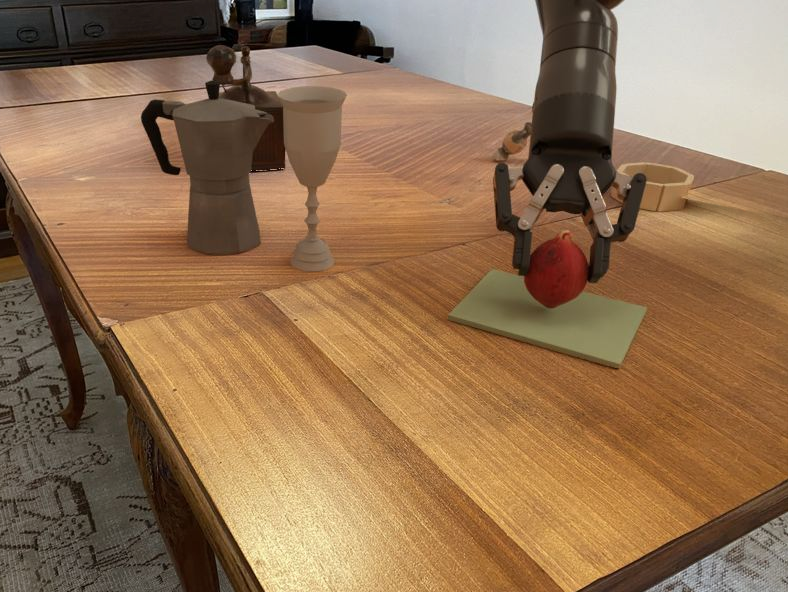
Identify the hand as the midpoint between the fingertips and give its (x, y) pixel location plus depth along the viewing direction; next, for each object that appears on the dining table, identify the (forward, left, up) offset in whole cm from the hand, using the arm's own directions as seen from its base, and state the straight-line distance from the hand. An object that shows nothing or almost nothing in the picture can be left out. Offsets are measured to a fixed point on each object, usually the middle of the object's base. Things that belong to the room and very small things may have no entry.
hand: (558, 276), depth 65 cm
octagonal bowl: (-2, -42, -5) cm, 42 cm away
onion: (+1, -2, -4) cm, 5 cm away
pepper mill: (+53, -23, -5) cm, 57 cm away
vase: (+20, -48, -5) cm, 52 cm away
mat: (+1, -2, -5) cm, 5 cm away
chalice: (+26, 0, -5) cm, 27 cm away
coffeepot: (+40, +1, -5) cm, 40 cm away
